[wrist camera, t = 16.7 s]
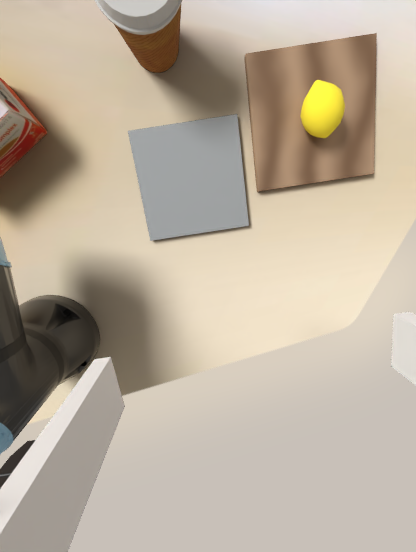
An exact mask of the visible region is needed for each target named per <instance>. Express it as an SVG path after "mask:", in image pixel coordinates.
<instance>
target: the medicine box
mask: <svg viewBox="0 0 416 552" xmlns="http://www.w3.org/2000/svg"><path fill="white" fill-rule="evenodd" d="M47 133H48V132H47V130H46V129H45V128H44V127H43V126H42V124H41V123H40V122H39V121H38V120H37V118H36V117H35V116H34V115H33V114H32V112H31V111H30V110H29V109H28V108H27V106H26V105H25V104H24V103H23V102H22V100H21V99H20V98H19V97H18V96H17V95H16V93H15V92H14V91H13V90H12V89H11V88H10V87H9V86H8V85H7V84H6V82H5V81H3V80H2V79H1V78H0V178H1V177H2V176H3V175H4V174H5V173H6V172H7V171H8V170H9V169H10V168H11V167H12V166H13V165H15V164H16V163H17V162H18V161H19V160H20V159H21V158H22V157H23V156H24V155H25V154H26V153H27V152H28V151H29V150H30V149H31V148H32V147H33V146H34V145H35V144H36V143H38V142H39V141H40V140H41V139H42V138H43V137H44V136H45V135H46V134H47Z"/></svg>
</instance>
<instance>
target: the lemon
mask: <svg viewBox="0 0 416 552" xmlns="http://www.w3.org/2000/svg"><path fill="white" fill-rule="evenodd" d="M344 109H345V103H344V98H343V95H342V91H341V89H340V88H338V87H337V86H336V85H334V84H332V83H329V82H325V81H321V80H316V81H315V82H314V84H313V85H312V87H311V89H310V90H309V92H308V94H307V95H306V97H305V99H304V102H303V105H302V109H301V115H300V116H301V121H302V124H303V126H304V128H305V130H306V131H307V132H308V133H309V134H310V135H313V136H315V137H319V138H327V137H328V136H329V135H330V134H331V133H332V132H333V131H334V130H335V129H336V128H337V126H338V125H339V124H340V122H341V120H342V117H343V115H344Z"/></svg>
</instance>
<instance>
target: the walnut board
mask: <svg viewBox="0 0 416 552" xmlns="http://www.w3.org/2000/svg"><path fill="white" fill-rule="evenodd" d="M376 36H377V33H375V34H369V35H362V36H356V37H349V38H343V39H337V40H330V41H324V42H318V43H311V44H305V45H298V46H292V47H286V48H279V49H273V50H267V51H260V52H254V53H247V54H246V55H245V69H246V79H247V90H248V101H249V111H250V122H251V133H252V143H253V154H254V165H255V176H256V186H257V192H259V191H265V190H272V189H278V188H285V187H291V186H298V185H304V184H311V183H317V182H324V181H330V180H337V179H343V178H350V177H356V176H363V175H369V174H374V141H375V88H376ZM316 80H321V81H325V82H329V83H332V84H334V85H336V86H337V87H338V88H340V89H341V91H342V95H343V98H344V103H345V109H344V115H343V117H342V120H341V122H340V124H339V125H338V126H337V128H336V129H335V130H334V131H333V132H332V133H331V134H330V135H329V136H328V137H327V138H319V137H315V136H313V135H310V134H309V133H308V132H307V131H306V130H305V128H304V126H303V124H302V121H301V116H300V115H301V109H302V105H303V102H304V99H305V97H306V95H307V94H308V92H309V90H310V89H311V87H312V85H313V84H314V82H315V81H316Z"/></svg>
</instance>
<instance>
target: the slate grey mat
mask: <svg viewBox="0 0 416 552" xmlns="http://www.w3.org/2000/svg"><path fill="white" fill-rule="evenodd" d="M128 134H129V139H130V144H131V148H132V153H133V158H134V163H135V168H136V173H137V177H138V182H139V187H140V192H141V197H142V202H143V207H144V211H145V216H146V221H147V226H148V231H149V236H150V241H152V240H158V239H165V238H171V237H178V236H184V235H191V234H198V233H204V232H211V231H217V230H224V229H230V228H237V227H243V226H249V222H248V213H247V203H246V194H245V184H244V175H243V165H242V156H241V146H240V136H239V127H238V117H237V114H234V115H228V116H221V117H215V118H208V119H202V120H195V121H189V122H183V123H176V124H170V125H163V126H157V127H150V128H144V129H138V130H131V131H128Z"/></svg>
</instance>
